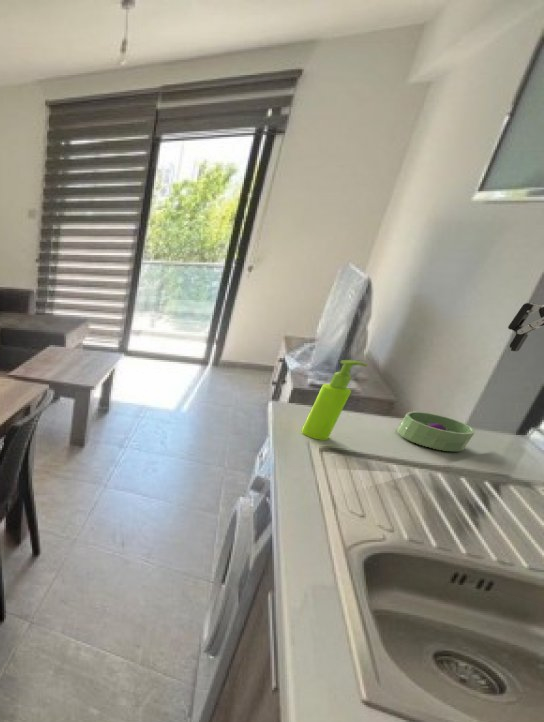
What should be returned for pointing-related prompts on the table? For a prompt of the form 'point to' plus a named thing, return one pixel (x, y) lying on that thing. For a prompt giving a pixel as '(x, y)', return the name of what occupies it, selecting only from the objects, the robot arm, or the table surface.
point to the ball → (437, 426)
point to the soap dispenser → (329, 403)
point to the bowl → (435, 431)
